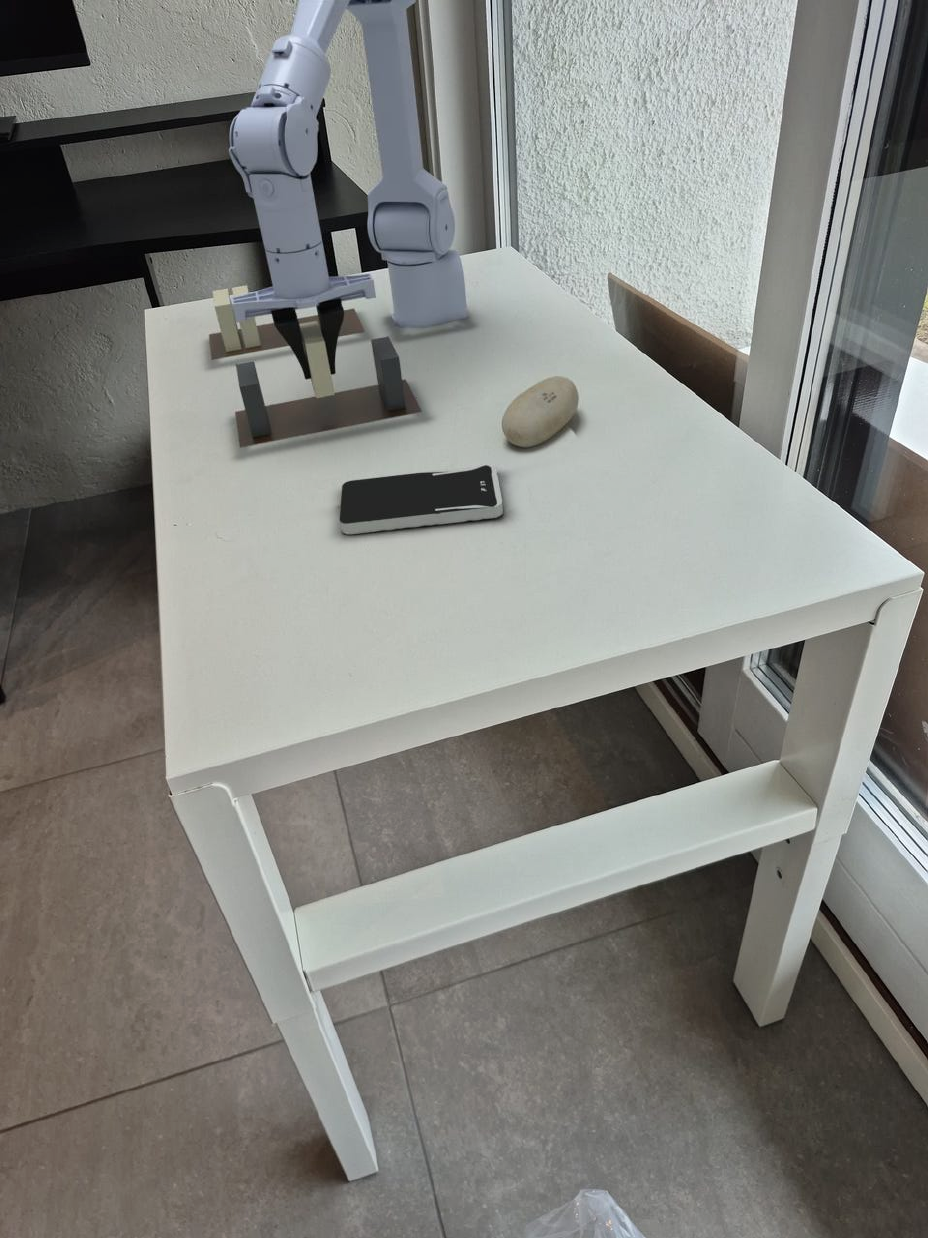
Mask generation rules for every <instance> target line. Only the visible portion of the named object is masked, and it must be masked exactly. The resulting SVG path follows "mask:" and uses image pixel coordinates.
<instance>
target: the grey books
mask: <svg viewBox="0 0 928 1238" xmlns="http://www.w3.org/2000/svg"><path fill="white" fill-rule="evenodd" d="M370 343H371V348H372V356H373V361H374V367H375V375H376V380H377V385H378V388H379V391H380V393H381V395H382V398H383V400H384V402H385V404H386V407H387V409H388V411H394V410H399V409H404V408H406V404H405V396H404V389H403V382H402V380H403V376H402V375H403V374H402V369H401V368H402V367H401V361H400V356H399V354H398V352H397V350H396V348H395V346H394V344H393V343H392V341H391V339H390V336H384V337H378V338H373V339H370ZM235 368H236V374H237V381H238V387H239V391H240V395H241V399H242V403H243V407H244V410H245V411H246V415H247V419H248V422H249V426H250V430H251V434H252V438H256V437H261V436H266V435H271V432H270V427H269V422H268V417H267V412H266V408H265V406H266V404H265V400H264V396H263V392H262V388H261V384H260V380H259V376H258V375H259V374H258V371H257V367H256V363H255V361H254V360H253V361H247V362H243V363H237V364H235Z"/></svg>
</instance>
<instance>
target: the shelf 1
mask: <svg viewBox="0 0 928 1238" xmlns="http://www.w3.org/2000/svg"><path fill="white" fill-rule="evenodd" d="M297 319H298V322H299V324H302V323H308V322H313V321H317V322H318V325H319V328H320V330H321V327H320V322H319V317H318V314H315V315H310V316H304V317H299V318H298V317H297ZM257 329H258V334H259V338H260V343H261V346H257V347H252V348H245V344H244V340H243V335H242V331H241V328H238V331H239V336H240V341H241V347H242V349H241V350H236V351H230V352H226V349H225V345H224V341H223V337H222V333H221V331H220V332H215V333H209V334H208V341H209V349H210V350H209V351H210V359H211V361H215V360H219V359H224V358H231V357H237V356H240V355H246V354H247V355H248V354H251V353H257V352H258V353H259V352H263V351H269V350H275V349H279V348H285V347H290V346H289V345H288V343H287V342H286V340H285V339H284V338H283V336H282V335H281V334H280V333H279V331H278V330H277V328H276V327H275V325H274V322H270V323H265V324H260V325H257ZM321 333H322V332H321ZM361 333H366V331H365V329H364V326H363V324H362V322H361V320H360V317H359V316H358V314H357V311H356V309H355V308H349V309H344V319H343V323H342V326H341V329H340V332H339V336H338V338H339V337H345V336H350V335H356V334H361Z"/></svg>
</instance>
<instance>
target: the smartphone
mask: <svg viewBox="0 0 928 1238" xmlns="http://www.w3.org/2000/svg"><path fill="white" fill-rule="evenodd" d="M340 495H341V497H340V509H339V523H340V528H341V532H342V534H344V535H348V536H349V535H351V536H352V535H358V534H367V533H368V534H369V533H377V532H385V531H394V530H403V529H412V528H419V527H429V526H437V525H446V524H455V523H464V522H471V521H472V522H473V521H480V520H482V521H483V520H489V519H490V520H491V519H497V518H499V517H501V516H502V515H503V513H504V508H503V499H502V493H501V486H500V482H499V476H498V470H497V467H496V466H495V465H491V464H481V465H473V466H466V467H457V468H448V469H441V470H430V471H421V472H414V473H413V472H412V473H404V474H397V475H387V476H380V477H378V476H377V477H371V478H370V477H369V478H360V479H354V480H353V479H352V480H348V481H346V482H344V483H343V484H342V485H341V494H340Z"/></svg>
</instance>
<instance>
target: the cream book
mask: <svg viewBox="0 0 928 1238" xmlns="http://www.w3.org/2000/svg"><path fill="white" fill-rule="evenodd" d="M299 325H300V331H301V336H302V341H303V346H304V351H305V355H306V358H307V361H308V365H309V368H310V373H311V379H310V382H311V386H312V389H313V392H314V395H315V396H316V398H321V397H326V396H331V395H335V393H336V392H335V389H334V384H333V383H334V382H333V378H332V375H331V372H330V367H329V362H328V357H327V351H326V346H325V341H324V338H323V336H322V333H321V330H320V328H319V325H318V322H317V321H313V322H308V323H302V324H299Z"/></svg>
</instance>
